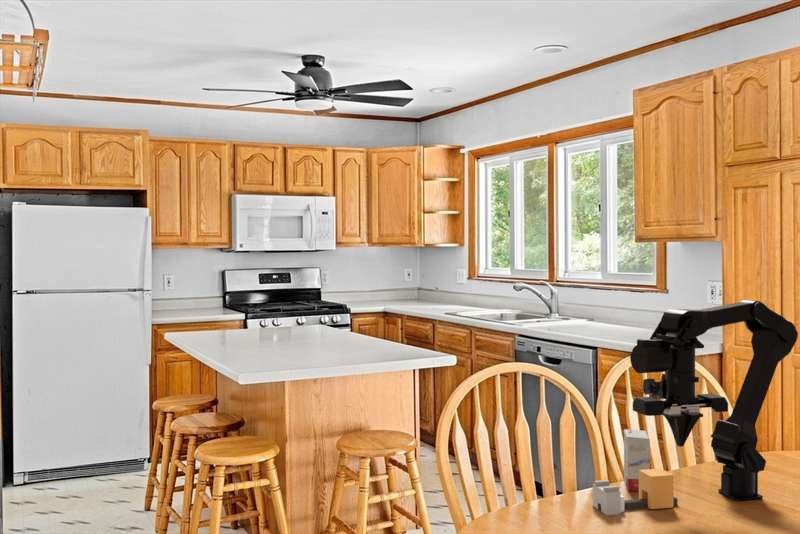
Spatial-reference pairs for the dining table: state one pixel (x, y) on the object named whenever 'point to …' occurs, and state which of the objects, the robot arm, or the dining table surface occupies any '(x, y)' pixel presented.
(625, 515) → the dining table surface
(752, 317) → the robot arm
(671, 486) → the notched orange cube
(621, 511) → the cream flat block
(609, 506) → the grey i-beam piece
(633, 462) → the ink box
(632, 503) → the bar
